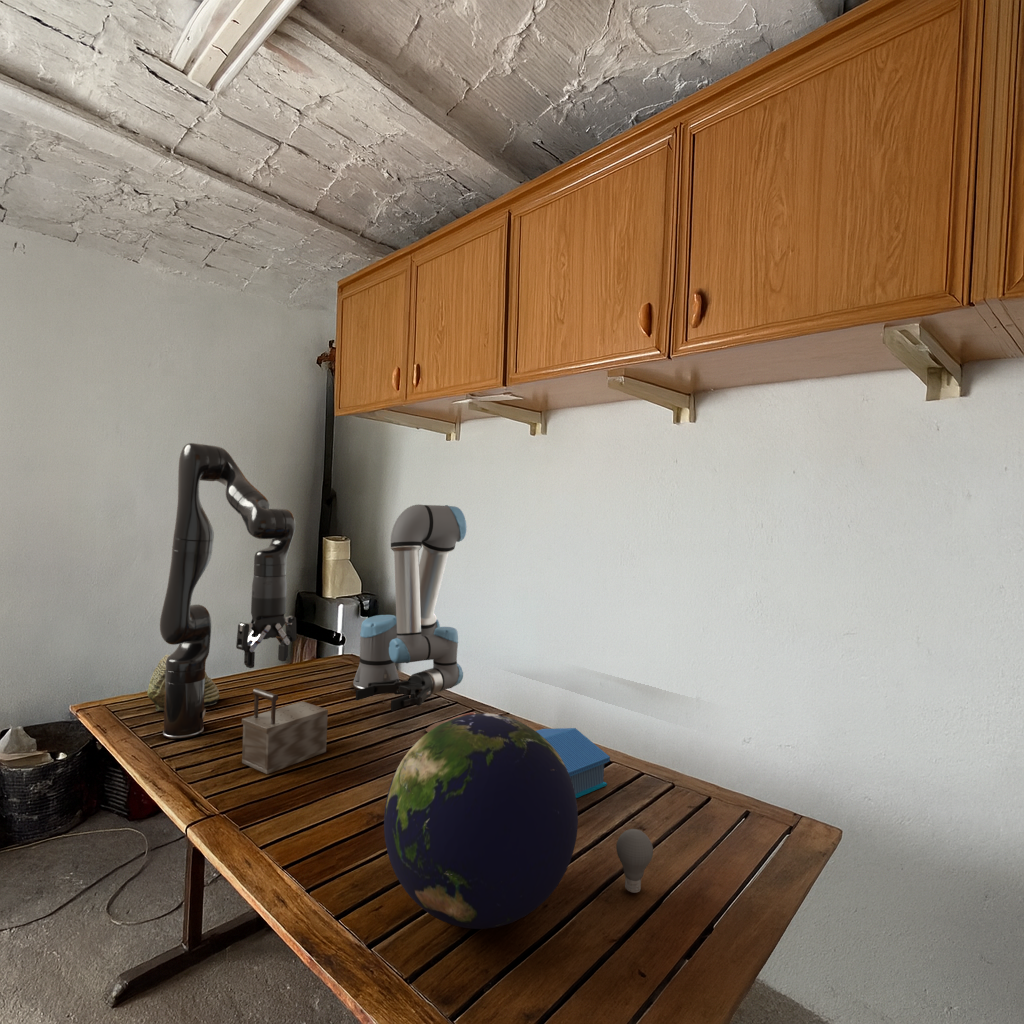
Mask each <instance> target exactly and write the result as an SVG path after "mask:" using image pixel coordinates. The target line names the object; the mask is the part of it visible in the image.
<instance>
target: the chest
mask: <svg viewBox="0 0 1024 1024" xmlns="http://www.w3.org/2000/svg"><path fill="white" fill-rule="evenodd" d="M328 714H329V713H328ZM328 714H326V715H323V716H320V717H317V718H314V719H311V720H308V721H304V722H301V723H298V724H295V725H292V726H289V727H286V728H283V729H279V730H276V731H273V732H270V733H264V732H262V731H259V730H257V729H254V728H252V727H249V726H247V725H244V724H242V753H241V755H242V756H241V763H242V764H243V765H246V766H248V767H250V768H251V769H254V770H256V771H259V772H261V773H263V774H266V775H269V774H272V773H275V772H277V771H280V770H282V769H285V768H288V767H291V766H293V765H295V764H298V763H301V762H304V761H305V760H308V759H311V758H313V757H316V756H320V755H321V754H325V753H327V743H328V742H327V739H328Z"/></svg>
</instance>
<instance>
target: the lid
mask: <svg viewBox="0 0 1024 1024" xmlns="http://www.w3.org/2000/svg"><path fill="white" fill-rule="evenodd" d="M252 695H253V696H254V699H253V701H254V702H253V715H250V716H246V717H242V718H241V724H242V725H243V724H244V725H247V726H249V727H252V728H254V729H257V730H259V731H262V732H264V733H270V732H273V731H276V730H279V729H283V728H286V727H289V726H292V725H295V724H298V723H301V722H304V721H308V720H311V719H314V718H317V717H320V716H323V715H326V714H329V710H328V709H327V708H324V707H321V706H318V705H315V704H312V703H309V702H306V701H303V700H302V701H299V702H296V703H292V704H289V705H285V706H282V707H281V706H280V707H277V705H276V704H277V701H278V699H279V695H278V694H276V693H273V692H270V691H268V690H264V689H262V688H261V689H260V688H257V687H255V688H254V689H253V690H252ZM260 698H262V699H265V700H268V701H271V709H270V710H268V711H264V712H261V713H259V703H260V701H259V700H260ZM276 707H277V708H276Z"/></svg>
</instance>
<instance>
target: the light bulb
mask: <svg viewBox="0 0 1024 1024" xmlns="http://www.w3.org/2000/svg"><path fill="white" fill-rule="evenodd" d="M615 849H616V854H617V857H618V859H619V861H620V863H621V865H622V867H623V873H624V874H623V875H624V876H625V878H624V888H625V890H627V891H628V892H630V893H634V894H635V893H639V892H640V891H641V889H642V887H641V886H642V879H643V877H644V875H645V871H646V868H647V867H648V866H649V864H650V863H651V861H652V859H653V855H654V847H653V843H652V841H651V838H649V836H648V835H647V834H646V833H645V832H643V831H642V830H641V829H636V828H629V829H627V830H625V831H623V832H622V833H621V834H620V835H619V837H618V839H617V841H616V847H615Z"/></svg>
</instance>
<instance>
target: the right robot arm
mask: <svg viewBox="0 0 1024 1024" xmlns="http://www.w3.org/2000/svg"><path fill="white" fill-rule="evenodd" d="M466 535H467V520H466V516H465V514H464V513H463V511H462V509H461V508H459V507H457V506H455V505H454V506H453V505H448V504H446V505H440V504H439V505H436V504H414V505H410V506H408V507H407V508H406V509H404V510H403V511H402V512H401V513H400V514H399V515H398V516H397V518H396V520H395V521H394V524H393V527H392V530H391V535H390V549H391V550H392V551H393V554H394V557H393V558H394V584H395V585H394V587H395V615H394V614H379V615H378V614H377V615H373V616H369V617H367V618H366V619H364V620H363V621H362V622H361V626H360V633H359V636H360V639H359V640H360V641H359V664H358V667H357V670H356V673H355V674H354V675H355V676H354V677H353V678H354V679H353V683H352V688H353V689H354V690H355V701H360V700H361V701H362V700H364V699H367V698H371V697H374V696H375V695H376V694H379V695H380V694H394V695H403V696H400V697H397V698H394V699H391V700H390V712H391V711H392V712H394V711H396V710H400V709H402V708H405V707H408V706H414V705H416V706H417V707H420V706H422V705H423V703H424V702H425V701H426V699H428V698H430V697H432V695H435V694H437V693H439V692H442V691H445V690H449V689H452V688H454V687H457V686H458V685H459V684H460V683H461V682H462V681H463V678H464V671H463V668H462V666H461V665H460V664H459V663H458V660H457V659H458V645H459V632H458V629H456V628H455V627H452V626H441V624H440V622H439V619H438V618H437V615H436V614H435V609H436V606H437V602H438V597H439V594H440V590H441V586H442V582H443V578H444V573H445V571H446V570H445V569H446V566H447V561H448V557H449V554H450V553H451V552H454V550H455V548H456V545H457V544H456V543H460V542H462V541H463V540H464V539H465V537H466ZM421 549H422V551H421V555H420V550H421ZM422 661H432V667H431V668H427V669H425V670H421V671H419V672H416V673H413V674H411V675H410V676H409V677H408V679H407V680H402V681H400V676H399V673H398V670H397V667H396V664H409V663H414V662H422Z"/></svg>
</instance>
